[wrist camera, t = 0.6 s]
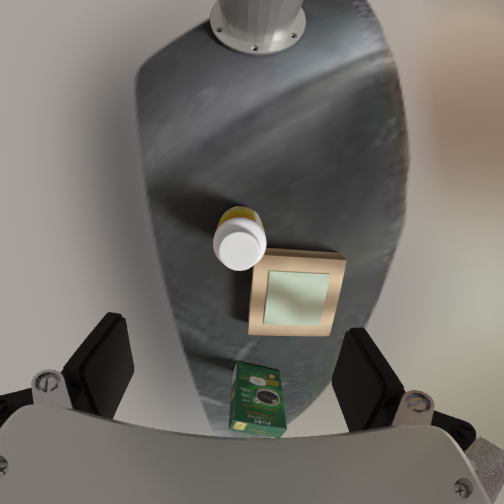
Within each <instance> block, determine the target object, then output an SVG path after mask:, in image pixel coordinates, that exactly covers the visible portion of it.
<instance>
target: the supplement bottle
mask: <svg viewBox="0 0 504 504" xmlns="http://www.w3.org/2000/svg"><path fill="white" fill-rule="evenodd" d="M213 247H214V251H215V254H216V256H217V257H218V259H219V260H220V261H221V262H222V263H223V264H224V265H225V266H227V267H228V268H230V269H233V270H237V271H242V270H246V269H249V268H250V267H252V266H253V265H255V264H256V263H257V262H258V261H260V259H261V258H262V257H263V255H264V253H265V250H266V237H265V233H264V229H263V225H262V222H261V219H260V217H259V216H258V214H257V213H256V212H255V211H254V210H252V209H250V208H248V207H244V206H236V207H233V208H231V209H229V210H227V211H226V212H225V213H224V214H223V216H222V217H221V219H220V222H219V224H218V227H217V229H216V232H215V235H214V239H213Z"/></svg>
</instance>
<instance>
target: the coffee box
mask: <svg viewBox="0 0 504 504" xmlns="http://www.w3.org/2000/svg"><path fill="white" fill-rule="evenodd" d="M229 430H233V431H239V432H244V433H250V434H256V435H262V436H269V437H276V438H280V437H281V436H282V435H283V434H284V432H285V431H286V430H287V426H286V417H285V409H284V401H283V393H282V385H281V377H280V371H277V370H273V369H270V368H263V367H259V366H255V365H250V364H247V363H242V362H238V361H237V362H236V365H235V367H234V370H233V379H232V392H231V404H230V418H229Z"/></svg>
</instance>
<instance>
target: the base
mask: <svg viewBox="0 0 504 504" xmlns="http://www.w3.org/2000/svg"><path fill="white" fill-rule="evenodd" d="M346 261H347V260H346V259H345V258H344V257H343V256H342V255H341V254H340V253H334V252H320V251H306V250H291V249H276V248H266V250H265V253H264V255H263V257H262V258H261V259H260V261H258V262H257V263H256V264H255V265H253V269H252V281H251V292H250V304H249V316H248V334H249V335H275V336H329V334H330V331H331V327H332V323H333V319H334V315H335V311H336V307H337V303H338V298H339V294H340V290H341V285H342V280H343V276H344V271H345V266H346Z"/></svg>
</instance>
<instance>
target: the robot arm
mask: <svg viewBox="0 0 504 504" xmlns="http://www.w3.org/2000/svg"><path fill="white" fill-rule="evenodd" d="M302 3H303V0H218V1H217V2H216V3H215V5H214V7H213V8H212V11H211V14H210V23H211V28H212V30H213V33H214V35H215V36H216V37H217V39H218V40H219V41H220V42H221V43H222V44H223V45H225V46H227V47H228V48H230V49H232V50H234V51H236V52H239V53H243V54H247V55H255V56H262V55H271V54H276V53H279V52H282V51H285V50H286V49H288V48H290V47H292V46H293V45H294V44H295V43H297V41H298V40H299V39H300V38H301V36H302V34H303V32H304V29H305V26H306V18H305V14H304V11H303V9H302V7H301V5H302ZM219 31H221V32H219ZM292 37H294V38H292ZM254 49H256V50H257V51H254ZM63 368H64V369H63V370H62V372H61V373H60V372H58V371H56V370H44V371H41V372H39V373H38V374H36V375H35V376H34V377H33V379H32V383H31V385H32V388H29V389H25V390H21V391H17V392H13V393H9V394H5V395H0V504H493V503H494V502H495V500H496V498H497V496H498V494H499V492H500V490H501V488H502V486H503V484H504V451H503V450H502V449H500V448H498V447H497V446H495V445H494V444H492V443H490V442H489V441H487V440H486V439H484V438H482V437H481V436H480V437H479V438H476V431H475V429H474V428H473V426H472V425H471V424H470V423H468V422H466V421H463V420H460V419H457V418H454V417H451V416H449V415H446V414H443V413H440V412H437V411H435V410H434V402H433V400H432V398H431V397H430V396H429V395H428V394H426V393H424V392H421V391H417V390H411V391H408V392H405V390H404V389H403V388H404V386H403V385H402V383H401V382H400V380H399V379H398V377H397V375H396V374H395V372H394V371H393V369H392V368H391V366H390V365H389V363H388V362H387V360H386V359H385V357H384V356H383V355H382V353H381V352H380V350H379V349H378V347H377V346H376V344H375V343H374V341H373V340H372V338H371V337H370V336H369V334H368V333H367V331H366V330H365V329H364V328H351V329H350V330H349V331H347V332H346V333H345V336H344V340H343V343H342V347H341V350H340V354H339V357H338V360H337V363H336V367H335V370H334V373H333V376H332V386H333V389H334V391H335V394H336V397H337V399H338V402H339V405H340V407H341V410H342V413H343V415H344V418H345V421H346V424H347V427H348V429H349V432H348V433H339V434H331V435H321V436H310V437H293V438H234V437H218V436H206V435H195V434H188V433H180V432H173V431H166V430H160V429H154V428H149V427H144V426H139V425H134V424H130V423H126V422H121V421H117V420H113V417H114V415H115V412H116V410H117V408H118V406H119V404H120V401H121V399H122V397H123V395H124V393H125V390H126V388H127V386H128V384H129V382H130V380H131V378H132V375H133V373H134V363H133V358H132V353H131V348H130V342H129V337H128V331H127V324H126V319H125V318H123V317H122V315H121V314H118V313H112V312H108V313H107V314H106V315H105V316H104V317H103V319H102V320H101V321H100V322H99V323H98V325H97V326H96V327H95V328H94V329H93V331H92V332H91V333H90V334H89V335H88V337H87V338H86V339H85V340H84V342H83V343H82V344H81V345H80V347H79V348H78V349H77V350H76V352H75V353H74V354H73V356H72V357H71V358H70V359H69V361H68V362H67V363H66V365H65V366H64V367H63Z"/></svg>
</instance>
